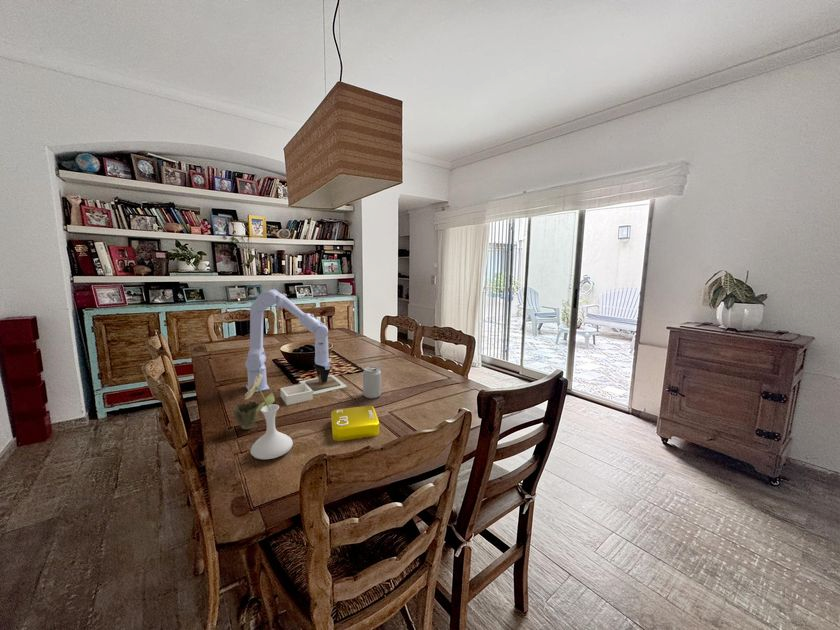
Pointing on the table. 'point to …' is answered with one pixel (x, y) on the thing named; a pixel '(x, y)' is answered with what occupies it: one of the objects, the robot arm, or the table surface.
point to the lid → (318, 384)
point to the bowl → (296, 394)
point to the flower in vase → (268, 428)
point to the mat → (326, 388)
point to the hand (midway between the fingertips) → (322, 380)
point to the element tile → (354, 423)
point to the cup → (246, 414)
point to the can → (371, 382)
